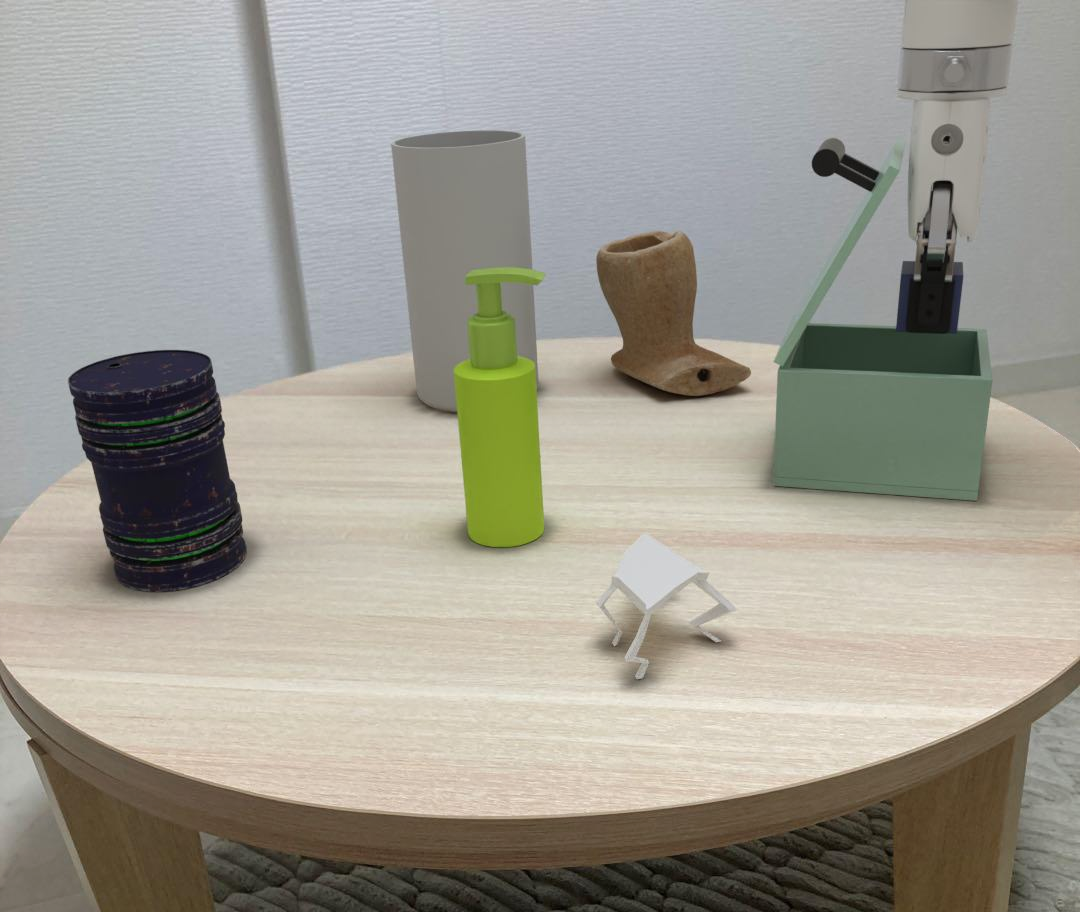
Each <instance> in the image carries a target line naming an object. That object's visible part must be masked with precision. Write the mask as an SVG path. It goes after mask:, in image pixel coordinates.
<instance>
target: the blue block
mask: <svg viewBox="0 0 1080 912" xmlns="http://www.w3.org/2000/svg"><path fill="white" fill-rule="evenodd" d="M963 264H964V263H963V261H954V265H953V275H952V280H955V285H954V294H953V303H952V312H951V321H950V329H949V332H948V334H957V328H959V319H960V310H961V301H962V294H963V284H964V265H963ZM922 268H923V265H922ZM914 271H915V260H903V261H902V265H901V270H900V280H899V290H898V291H899V292H898V303H897V312H896V325H895V326H896V332H907V331H906V319H907V308H908V297H909V287H910V279H914ZM921 272H922V271H921ZM944 279H945V277H944Z"/></svg>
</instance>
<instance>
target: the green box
mask: <svg viewBox="0 0 1080 912" xmlns="http://www.w3.org/2000/svg"><path fill="white" fill-rule="evenodd" d="M992 387H993V372H992V364H991V355H990V347H989V337H988V329H987V328H974V327H973V328H972V327H958V328H957V334H948V333H946V334H931V333H909V332H896V325H881V324H880V325H878V324H852V323H851V324H849V323H847V324H846V323H819V322H817V323H815V322H809V323H808V325H807V327H806V328H805V330H804V332H803V333H802V335H801V337H800V338H799V340H798V342H797V343H796V345H795V347H794V348H793V350H792V352H791V353H790V355H789V357H788V358H787V360H786V362H785V363H784V365H783V367H782V366H780V365H779V367H778V369H777V378H776V402H775V403H776V404H775V426H774V430H775V431H774V448H773V449H774V451H773V474H772V475H773V477H772V486H773V487H785V488H798V489H811V490H825V491H838V492H852V493H864V494H866V493H867V494H876V495H877V494H879V495H890V496H891V495H892V496H894V495H895V496H906V497H918V498H934V499H947V500H961V501H971V502H972V501H973V502H977V501H978V498H979V497H978V496H979V488H980V483H981V482H980V480H981V473H982V467H983V466H982V465H983V458H984V449H985V442H986V433H987V427H988V420H989V419H988V418H989V411H990V403H991V396H992Z"/></svg>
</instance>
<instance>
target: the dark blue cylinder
mask: <svg viewBox="0 0 1080 912" xmlns="http://www.w3.org/2000/svg"><path fill="white" fill-rule="evenodd" d="M213 375H214V367H213V363H212V359H211V357H210V356H209V355H207V354H205V353H203V352H200V351H199V352H198V351H195V350H187V349H156V350H155V349H154V350H145V351H137V352H131V353H126V354H121V355H116V356H112V357H107V358H104V359H101V360H98V361H95V362H92V363H90V364H86V365H85V366H83V367H81V368H79V369H77V370H75V371H74V372H72V373H71V374H70V376H69V377H68V379H67V384H68V389H69V393H70V395H71V396H72V397H73V399H72V405H73V408H74V412H75V415H74V420H75V423H76V427H77V431H78V434H79V436H80V438H81V442H82V443H81V448H82V451H84V453H85V454H84V455H85V457H86V459H87V460H88V461H89V462H90V463H91V467H92V472H93V475H94V480H95V483H96V487H97V491H98V495H99V500H100V503H99V505H98V511H99V515H100V520H101V523H102V533H103V537H104V541H105V545H106V547H107V549H108V550H109V556H110V558H111V559H112V561H113V571H114V575H115V578H116V580H117V581H118V582H119V583H120V584H121V585H123V586H124V587H127V588H129V589H132V590H135V591H142V592H151V593H153V592H154V593H155V592H156V593H159V592H174V591H180V590H186V589H190V588H194V587H200V586H202V585H205V584H209V583H211V582H214V581H216V580H218V579H220V578H222V577H224V576H226V575H228V574H230V573H232V572H233V571H235V569H237V568H238V567H239V566H241V564H242V563H243V562H244V561H245V559H246V557H247V554H248V549H247V544H246V541H245V539H244V537H243V535H244V528H243V515H242V514H243V513H242V509H241V504H240V502H239V500H238V492H237V490H236V484H235V482H234V480H233V479H232V478H231V476H230V471H229V466H228V461H227V455H226V450H225V445H224V438H225V435H226V432H225V427H226V423H225V420H224V419H223V414H222V413H223V407H222V402H221V396H220V393H219V392H218V389H217V383H216V379H215V377H214V376H213Z"/></svg>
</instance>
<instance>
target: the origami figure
mask: <svg viewBox="0 0 1080 912" xmlns="http://www.w3.org/2000/svg"><path fill="white" fill-rule="evenodd" d="M709 575H710V572H709V571H707V570H705V569H703V568H700V567H698V566H696V565H695V564H693V562H691V561H689V560H687V559H685V558H684V557H683V556H681V554H678V553H677V552H675V551H674V550H672V549H671V548H670V547H667V546H666V545H665V544H663V543H662V542H660V541H659V540H657V539H656V538H654V537H653V536H651V534H650V531H647V532H645V533H643V534H642V535H640V537H639V538H638V539H637V540H635V541H634V542H633V543H632V544H631V545H630V546H628V548H627V549H626V550H625V551H624V553H623V555H622V557H621V559H620V561H619V565H618V567H617V570H616V572H615V573H614V574H613V575H611V583H610V585H609V586H608V588H607V589H606V590H605V591H604V592H603V594H602V595H601V596H600V597H599V598H598V600H597V601H596V605H597V606H598V608H599V609H600V610H601V611H602V612H603V614H604V615H605V616H606V618H607V619H608V620H609V621H610V622H611V624H612V626H613V627H614V628H615V629H616V630H617V632H616V634H615V636H614V638H613V640H612V642H611V644H612V645H613V646H614V647H615V646H616V647H617V645H618V644H619V641H620V640H621V637H622V635H623V630H622V629H621V628H620V626H619V625H618V624H617V622H616V620H615V619H614V618H613V616H612V615H611V613H610V611H609V610H608V609H607V607H606V605H605V604H606V603H607V601H608V600H609V599H610V598H611V596H612V595H613V594H614V592H615V591H616V590H617V589H618V590H619V591H620V592H621V593H622V594H623V596H625V597H626V598H627V599H628V600H629V601H630V602H631V603H632V604H633V605H634V606H635V607H636V608H637V609H638V610H639V611H640V612H641V613H642V614H644V615H643V618H642V620H641V622H640V624H639V627H638V630H637V632H636V634H635V637H634V639H633V640H632V643H631V645H630V646H629V648H628V650H627V652H626V654H625V655H624V660H625V662H626V663H627V662H628V663H639V664H640V666H639V668H638V669H637V672H636V673H635V675H634V677H635V679H636V680H641V679H644V676H645V674H646V672H647V669H648V666H649V664H650V661H649V660H648V658H646V657H645V658H643V657H638V656H637V655H638V653H639V650H640V648H641V646H642V644H643V641H644V639H645V637H646V633H647V630H648V627H649V624H650V621H651V618H652V616H653V615H654V614H655V613H656V612H657V611H658V610H659V609H661V608H662V607H663V606H664V605H665V604H666V603H667V602H668V601H669V600H671V598H673V597H674V596H675V595H676V594H678V593H679V592H680V591H682V590H683V589H684V588H686V587H687V586H689V585H690V584H694V585H695V586H696V587H698V588H699V589H700V590H702V592H704V593H705V594H707V595H708V596H710V597H711V599H713V600H714V601H716V602H717V603H718V604H716V605H715V606H713V607H711V608H710V609H708V610H706V611H705V612H703V613H702V614H700V615H698V616H697V617H695V618H694V619H692V620H691V621H689V622H688V624H689V625H690V626H692V627H693V628H695V629H696V630H698V631H699V632H700V633H702V634H703V635H705V636H706V637H708V638H709V639H710V640H712V641H713V642H715V643H720V642H722V640H721V639H719V638H718V637H716V636H715V635H713V634H712V633H710V632H709V631H707V630H706V629H704V628H703V627H701V626H702V625H705V624H706V623H709V622H711V621H714V620H717V619H718V618H721V617H723V616H726V615H728V614H731V613H733V612H736V611H738V610H739V608H737V607H736V606H735V605H734V604H733V603H731V602H730V600H728V599H727V598H726V597H725V596H724V595H723V594H722V593H720V591H719V590H717V589H716V588H715V587H714V586H713V585H712V584H711V583H709V581H708V577H709Z"/></svg>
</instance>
